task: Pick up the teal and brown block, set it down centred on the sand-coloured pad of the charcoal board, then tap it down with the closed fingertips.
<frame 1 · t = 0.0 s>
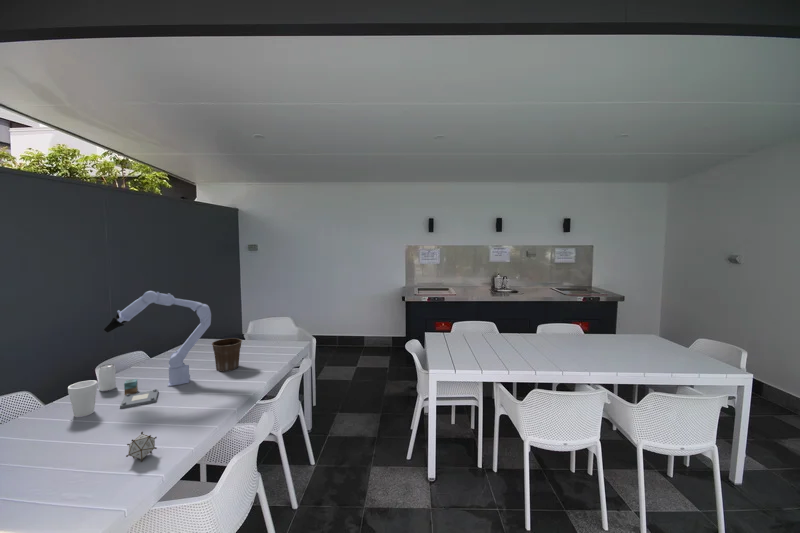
hand: (107, 329, 165), 32 cm above the table, tool tilted 50°, fingers open, 7 cm apart
game die: (142, 458, 116), on the table
foam cup: (84, 414, 147), on the table
plate: (140, 399, 160), on the table
grey cylinder: (107, 389, 172), on the table
teal and brown block: (131, 392, 168), on the table
plant pot: (227, 368, 203), on the table
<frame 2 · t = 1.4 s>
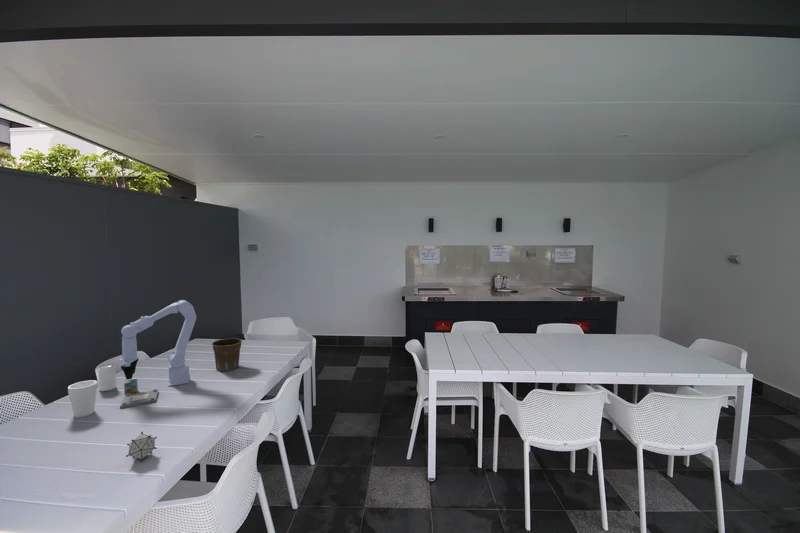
hand: (130, 376, 168), 8 cm above the table, tool pointing down, fingers open, 7 cm apart
nothing on the table moved.
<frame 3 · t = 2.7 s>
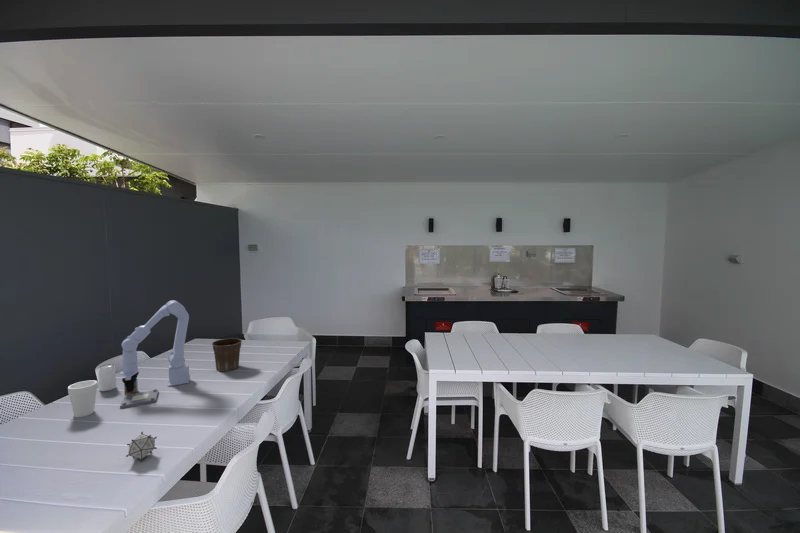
hand: (131, 389, 168), 2 cm above the table, tool pointing down, fingers closed on teal and brown block, 4 cm apart
teal and brown block: (131, 392, 168), on the table, touching gripper
everything else where it was.
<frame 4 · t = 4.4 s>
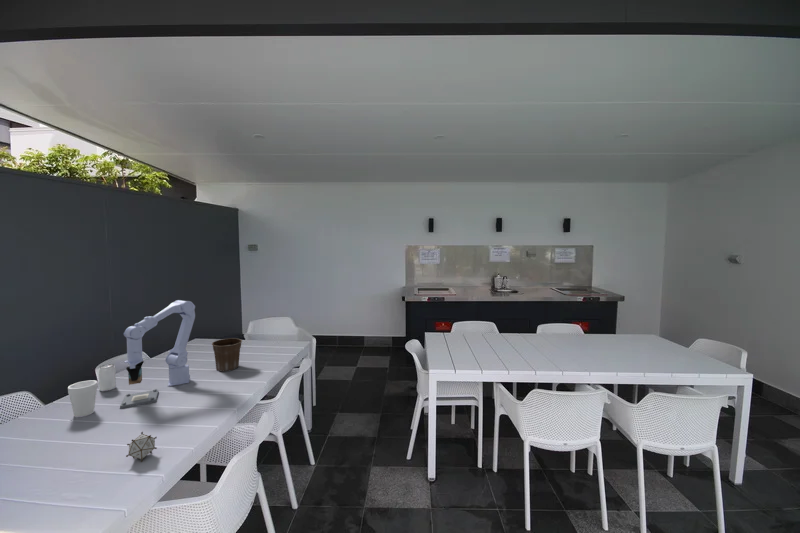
hand: (135, 378, 163), 9 cm above the table, tool pointing down, fingers closed on teal and brown block, 4 cm apart
teal and brown block: (135, 382, 163), point 7 cm above the table, touching gripper
everything else where it was.
when the fingers open (4 cm above the table, at t = 6.1 s): teal and brown block drops 1 cm, resting on plate.
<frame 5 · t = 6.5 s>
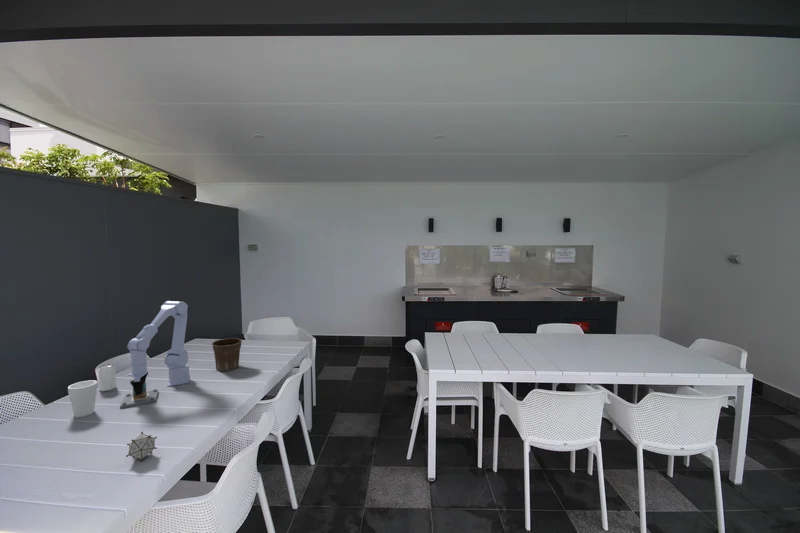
hand: (140, 391, 160), 4 cm above the table, tool pointing down, fingers open, 7 cm apart
teal and brown block: (140, 397, 160), point 1 cm above the table, touching plate
everything else where it was.
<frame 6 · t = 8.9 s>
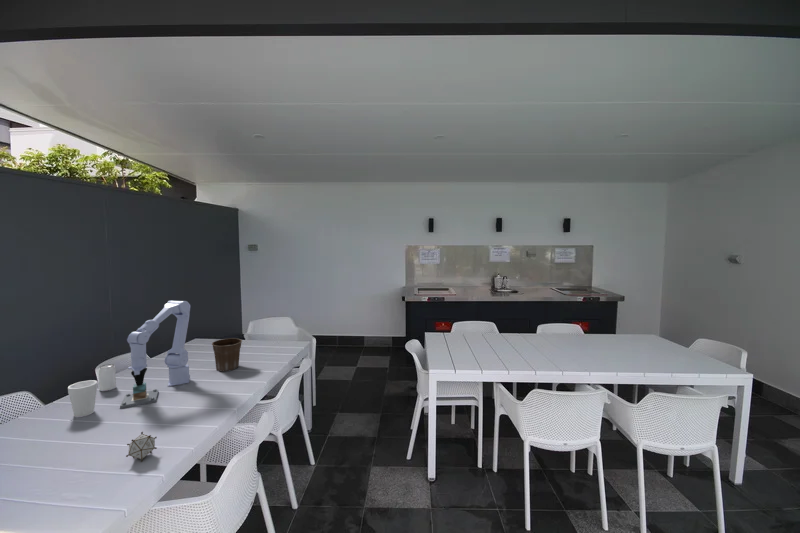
hand: (139, 384, 160), 7 cm above the table, tool pointing down, fingers closed, pressing on teal and brown block
teal and brown block: (140, 397, 160), point 1 cm above the table, touching gripper, plate
everything else where it was.
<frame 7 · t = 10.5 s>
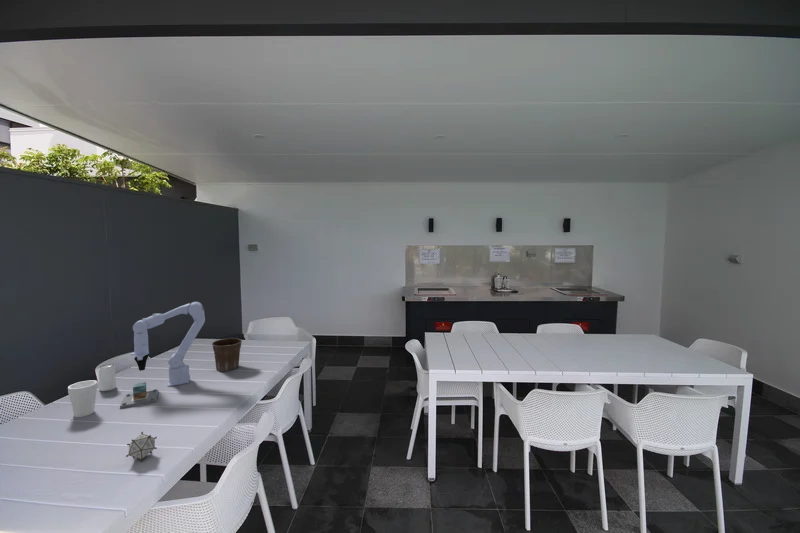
hand: (142, 370, 173), 9 cm above the table, tool pointing down, fingers closed
teal and brown block: (140, 397, 160), point 1 cm above the table, touching plate
everything else where it was.
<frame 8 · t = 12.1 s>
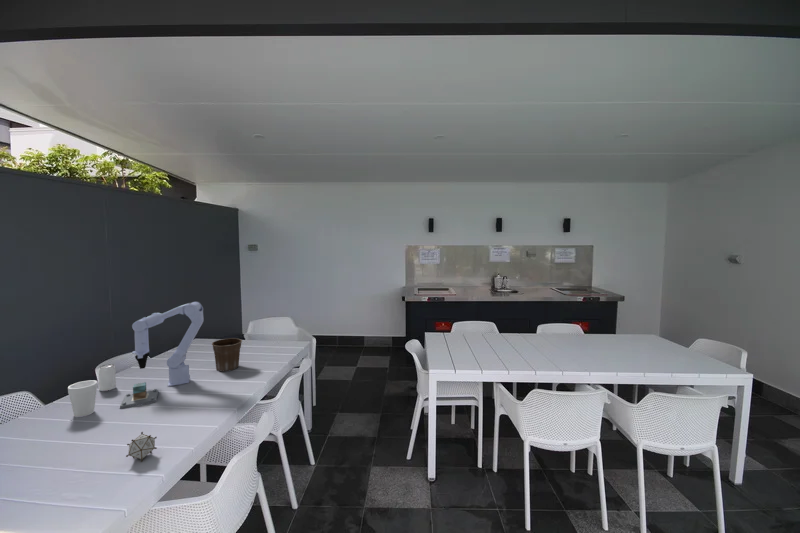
hand: (142, 368, 176), 9 cm above the table, tool pointing down, fingers closed
nothing on the table moved.
at the end: teal and brown block 0.1 cm off-centre on the plate, point 1.3 cm above the plate's base; teal and brown block tilted 0°; the gripper is holding nothing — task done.
